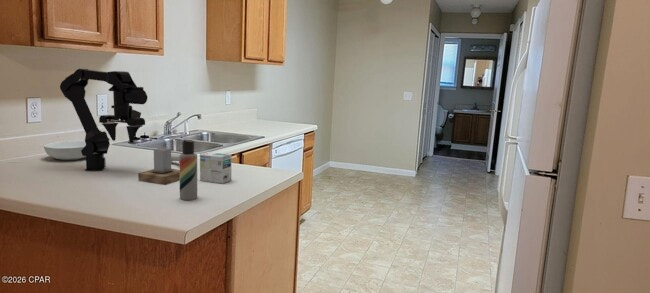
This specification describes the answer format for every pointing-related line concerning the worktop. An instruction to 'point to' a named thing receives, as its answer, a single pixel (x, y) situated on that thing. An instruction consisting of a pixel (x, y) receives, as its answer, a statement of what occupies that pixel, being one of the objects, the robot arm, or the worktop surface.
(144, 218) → the worktop surface
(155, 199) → the worktop surface
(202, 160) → the light bulb box
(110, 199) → the worktop surface
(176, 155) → the grey metal cylinder
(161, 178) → the wooden square hole board
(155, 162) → the steel peg
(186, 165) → the lotion bottle
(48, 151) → the serving bowl
